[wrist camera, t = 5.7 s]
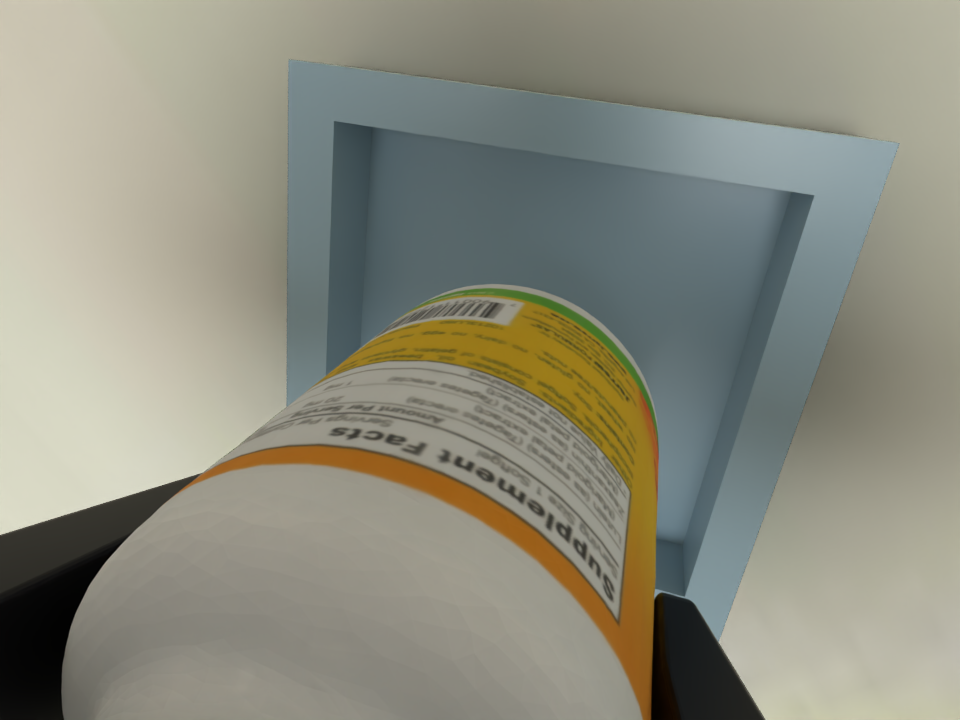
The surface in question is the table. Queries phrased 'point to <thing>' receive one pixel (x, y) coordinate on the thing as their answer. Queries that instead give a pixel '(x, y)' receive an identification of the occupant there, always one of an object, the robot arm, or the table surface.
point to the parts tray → (592, 261)
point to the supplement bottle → (403, 540)
